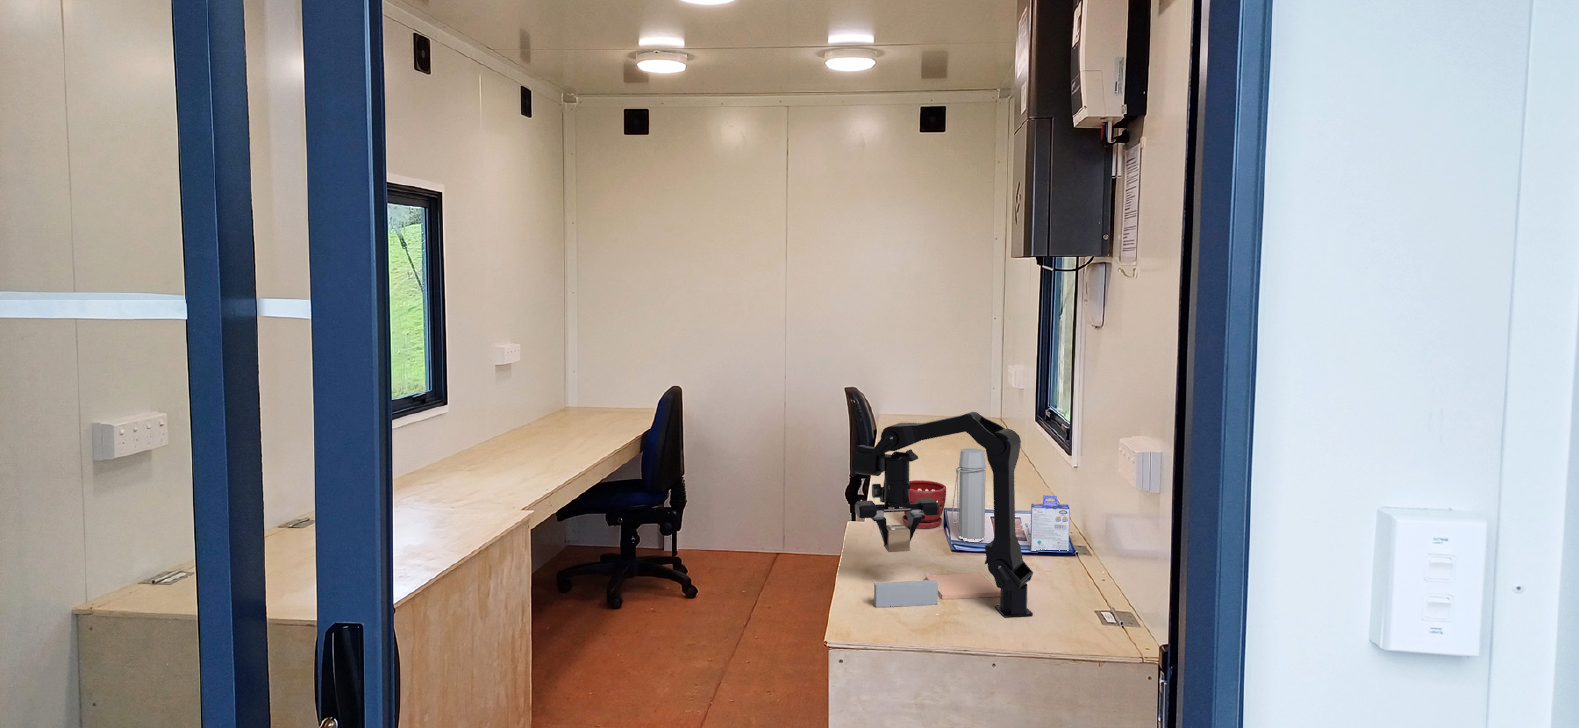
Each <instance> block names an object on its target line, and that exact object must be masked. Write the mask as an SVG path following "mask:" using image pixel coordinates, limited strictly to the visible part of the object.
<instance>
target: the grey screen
mask: <svg viewBox="0 0 1579 728" xmlns="http://www.w3.org/2000/svg"><path fill="white" fill-rule="evenodd" d="M938 597H939V595H938V582H937V581H936V580H925V579H924V580H910V581H909V580H908V581H905V580H904V581H887V582H884V581H883V582H874V583H873V598H874V599H873V605H874V604H875V605H874V607H875V606H876V607H875V609H877V608H878V607H879V609H881V608H880V607H884V608H893V607H892V606H902V607H917V605H920V606H932V605H933V606H936V605H938ZM935 604H936V605H935ZM890 606H891V607H890Z"/></svg>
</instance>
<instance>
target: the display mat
mask: <svg viewBox="0 0 1579 728" xmlns="http://www.w3.org/2000/svg"><path fill="white" fill-rule="evenodd" d="M924 578H925V579H924V580H936V581H937V582H938V597H940V598H941V600H955V599H957V600H958V599H973V598H974V599H975V598H992V597H993V598H994V597H1000V588H997V585H996V584H995V583H993V582H992V581H991V580H990V579H989V578H988V577H986V575H984V574H983V573H982V572H973V573H972V572H971V573H949V574H932V575H924Z"/></svg>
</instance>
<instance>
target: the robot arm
mask: <svg viewBox="0 0 1579 728" xmlns="http://www.w3.org/2000/svg"><path fill="white" fill-rule="evenodd" d="M960 433H966V434H968V435H969V436H970V437H971V438H972V439H973V441H975V442H976V443H977V444H978V446H979V445H980V446H982V448H984V449H985V455H986V458H987V462H988V464H989V466H990V469H991V471H992V483H993V484H992V487H993V488H992V489H993V493H992V495H993V530H994V531H993V532H994V533H993V540H992V541H990V542H988V543H987V544H985V545H984V550H985V560H984V561H985V562H984V565H987V570H988V572H989V574H991V575H992V576H993V579H994V581H995V586H996V587H997V588H998V589H999V590H1000V596H999V598H1000V601H999V603H1000V604H995V605H994V608H995V609H996V610H997V611H998V612H999V614H1001V616H1003V617H1004V618H1012V617H1013V618H1014V617H1032V616H1033V615H1034V613H1033V611H1032V610H1030V609H1029V608H1028V584H1027V583H1028V582H1030V581H1031V580H1032V578H1033V575H1034V572H1033V570H1032V569H1031V568H1030V567H1029V566H1028V565H1027V562H1025V561H1024V560H1023V559H1024V558H1023V552H1022V549H1021V544H1020V542H1019V540H1018V538H1017V535H1016V506H1015V505H1016V503H1015V502H1016V499H1015V497H1016V496H1015V471H1016V470H1015V469H1016V466H1017V463H1018V461H1019V456H1020V450H1021V446H1022V445H1021V443H1022V441H1021V437H1020V435H1019V434H1018V433H1017V432H1016V431H1015V430H1013V429H1011V428H1005V427H1003V426H1002V425H1001V424H999V423H997V422H994V420H993V421H992V420H990V419H988V418H986V417H985V416H982V415H981V414H979V412H976V411H970V412H968V413H965V414H960V415H956V416H952V417H946V418H941V419H937V420H932V421H927V422H922V423H921V422H918V423H917V422H899V423H896V424H893V425H889V426H886V427H884V429H883V430H882V431H881V434H880V440H878V442H877V444H876V445H874V446H868V445H864V444H860V445H857V446H856V452H855V453H854V455H853V459H852V461H851V462H852V463H851V465H852V470H853V472H854V474H857V475H864V476H865V475H866V476H873V477H874V476H875V477H880V476H881V475H882V473H884V480H883V486H882V485H881V483H872V484H871V496H872V498H873V499H877V498H879V502H880V503H882V504H880V503H879V504H876V503H875V502H874V501H873V500H857V501H856V502H855V505H854V512H855V514H856V515H857V517H858V518H859V519H870V520H872V521H873V522H875V523H876V525H877V527H878V531H879V533H880V537H881V539H882V541H883V546H884V545H887V525H888V524H887V518H886V517H885V513H901V512H903V513H904V512H907V517H908V523H907V525H906V526H907V528H908V529H909V530H910V542H911V541H912V539H913V536H914V534H915V532H916V530H917V529H918V528H917V526H918V525H919V523H920V521H921V520H922V519H925V516H924V515H923V513H924V514H925V515H939V505H938V504H937V503H938V502H937V501H936V502H937V503H936V502H935V501H934V500H933V499H932V498H920V499H917V501H916V503H910V502H909V489H910V484H909V481H910V463H911V462H915V461H916V460H919V456H918V455H917V454H916V453H915V452H914V451H913V450H912V449H911V448H910V449H907V450H906V451H905V452H904V451H899V450H901V449H904V448H907V447H909V446H911V445H913V444H916V443H919V442H921V441H926V440H930V439H936V438H940V437H944V436H950V435H954V434H960ZM889 452H892V454H890V453H889ZM902 507H905V508H902Z"/></svg>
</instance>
